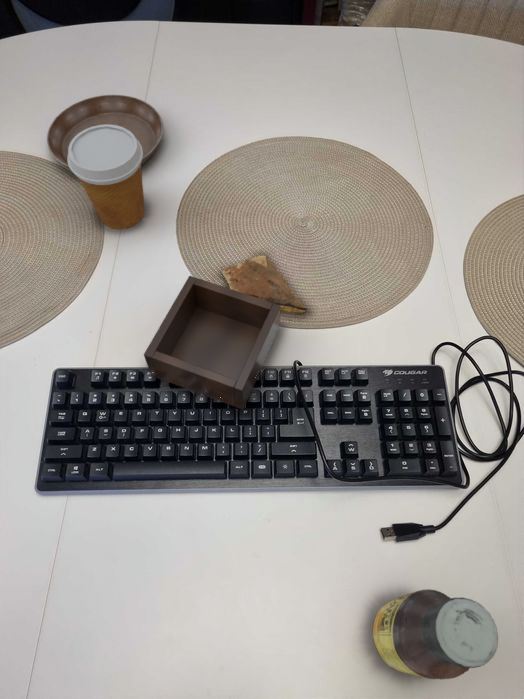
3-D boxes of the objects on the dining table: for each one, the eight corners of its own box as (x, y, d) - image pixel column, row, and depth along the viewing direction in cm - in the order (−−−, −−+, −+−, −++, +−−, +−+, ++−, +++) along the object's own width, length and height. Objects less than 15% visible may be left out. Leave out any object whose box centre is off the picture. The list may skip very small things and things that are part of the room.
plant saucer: (43, 187, 81) (36, 171, 78) (61, 110, 90) (55, 94, 87) (162, 185, 81) (159, 169, 79) (168, 109, 90) (166, 93, 88)
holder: (279, 330, 69) (281, 305, 64) (243, 411, 63) (242, 390, 58) (193, 301, 71) (189, 275, 66) (151, 377, 65) (143, 354, 61)
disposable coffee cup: (169, 215, 78) (156, 147, 68) (116, 250, 75) (93, 185, 65) (129, 181, 82) (110, 112, 71) (76, 214, 78) (49, 145, 68)
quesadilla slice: (306, 316, 70) (307, 308, 68) (255, 341, 68) (255, 334, 67) (265, 259, 75) (265, 250, 73) (215, 280, 73) (215, 272, 71)
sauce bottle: (409, 587, 54) (481, 555, 37) (448, 651, 51) (545, 647, 34) (354, 622, 52) (402, 605, 35) (391, 689, 50) (463, 706, 32)
